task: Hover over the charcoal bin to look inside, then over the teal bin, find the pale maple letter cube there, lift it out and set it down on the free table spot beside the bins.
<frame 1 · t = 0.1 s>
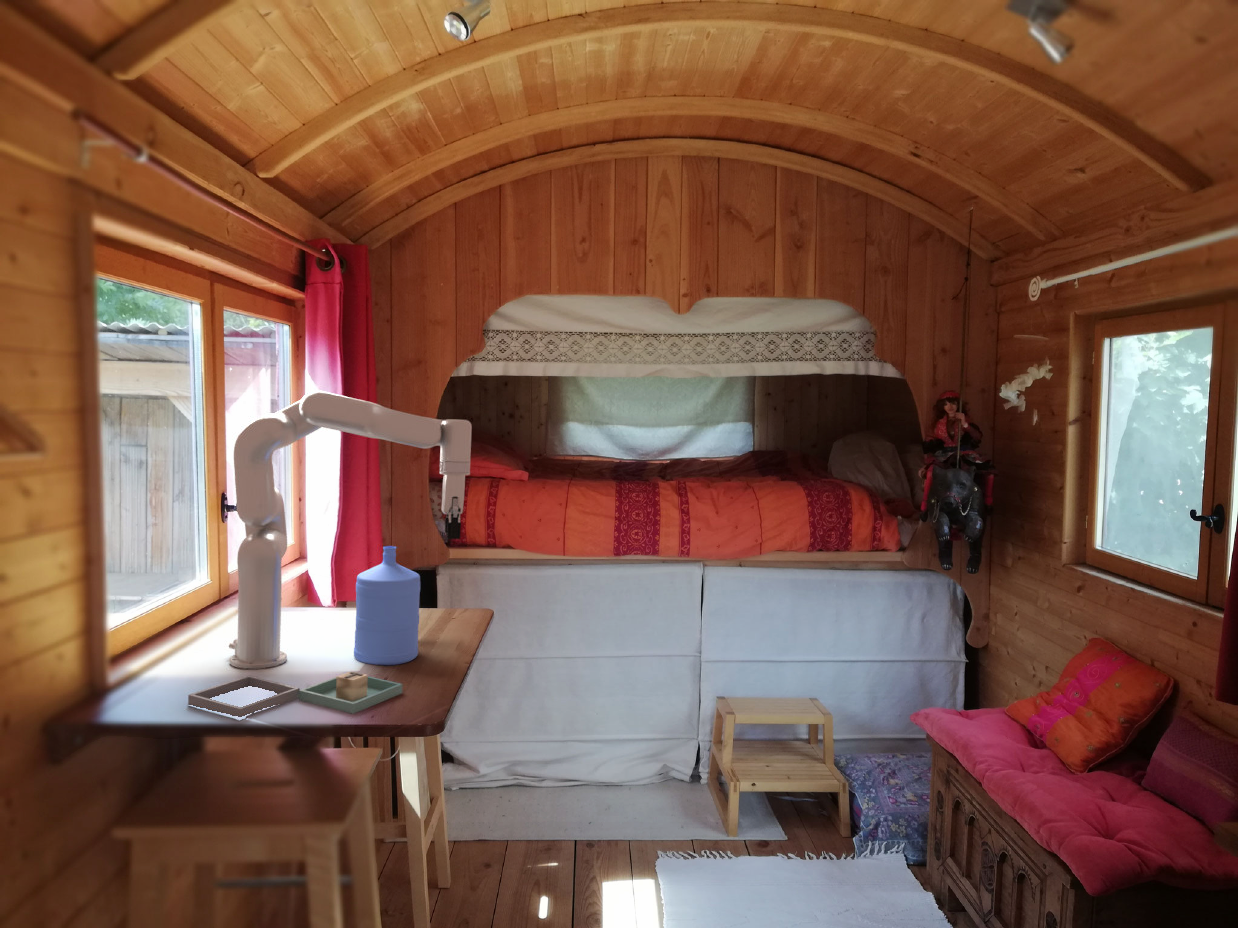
hand: (452, 535, 211), 31 cm above the table, tool pointing down, fingers open, 9 cm apart
teal bin: (351, 697, 180), on the table
water jug: (386, 657, 210), on the table
charcoal bin: (244, 702, 174), on the table
letter cube: (351, 696, 180), resting on teal bin
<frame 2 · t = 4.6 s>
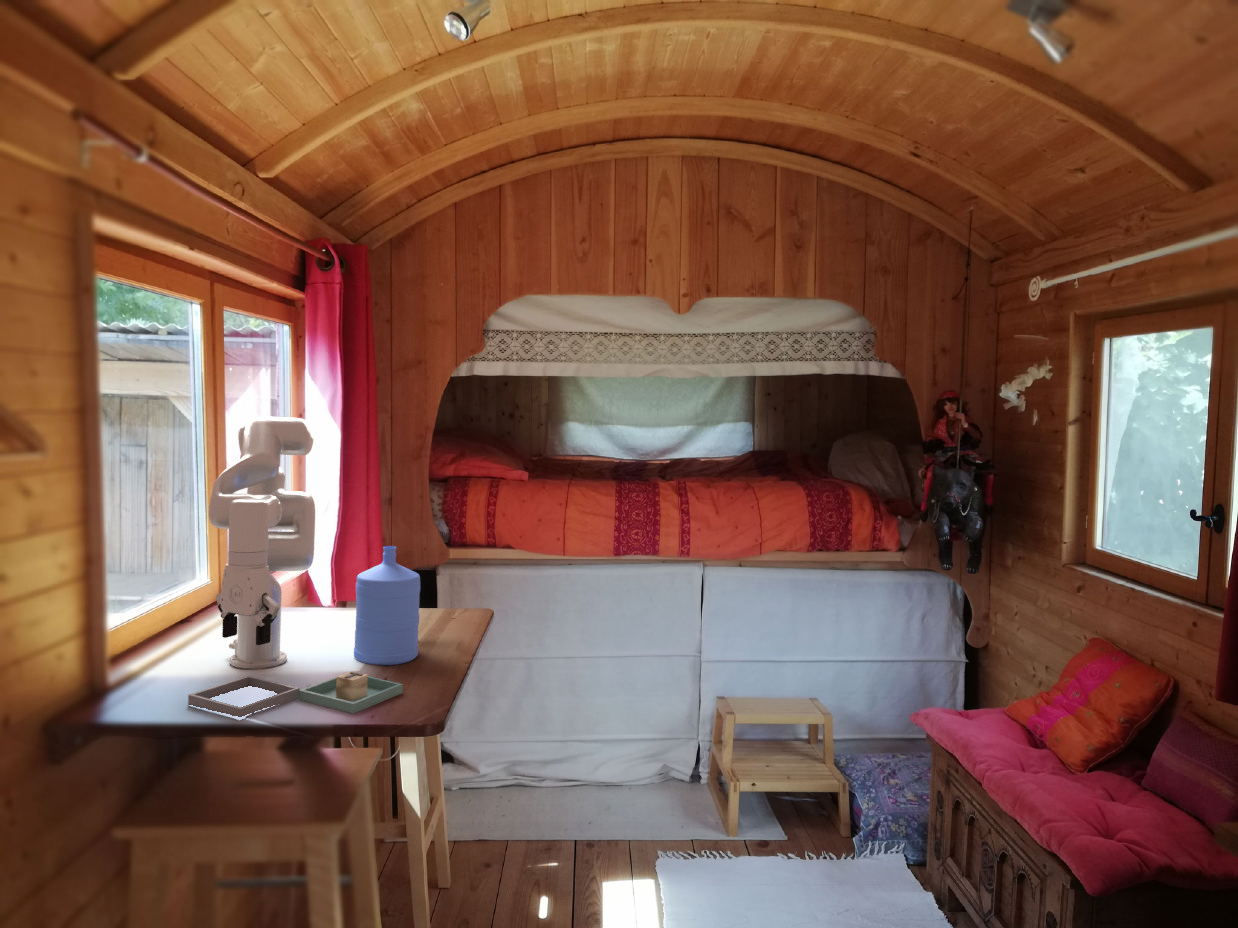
hand: (246, 639, 173), 13 cm above the table, tool pointing down, fingers open, 9 cm apart
nothing on the table moved.
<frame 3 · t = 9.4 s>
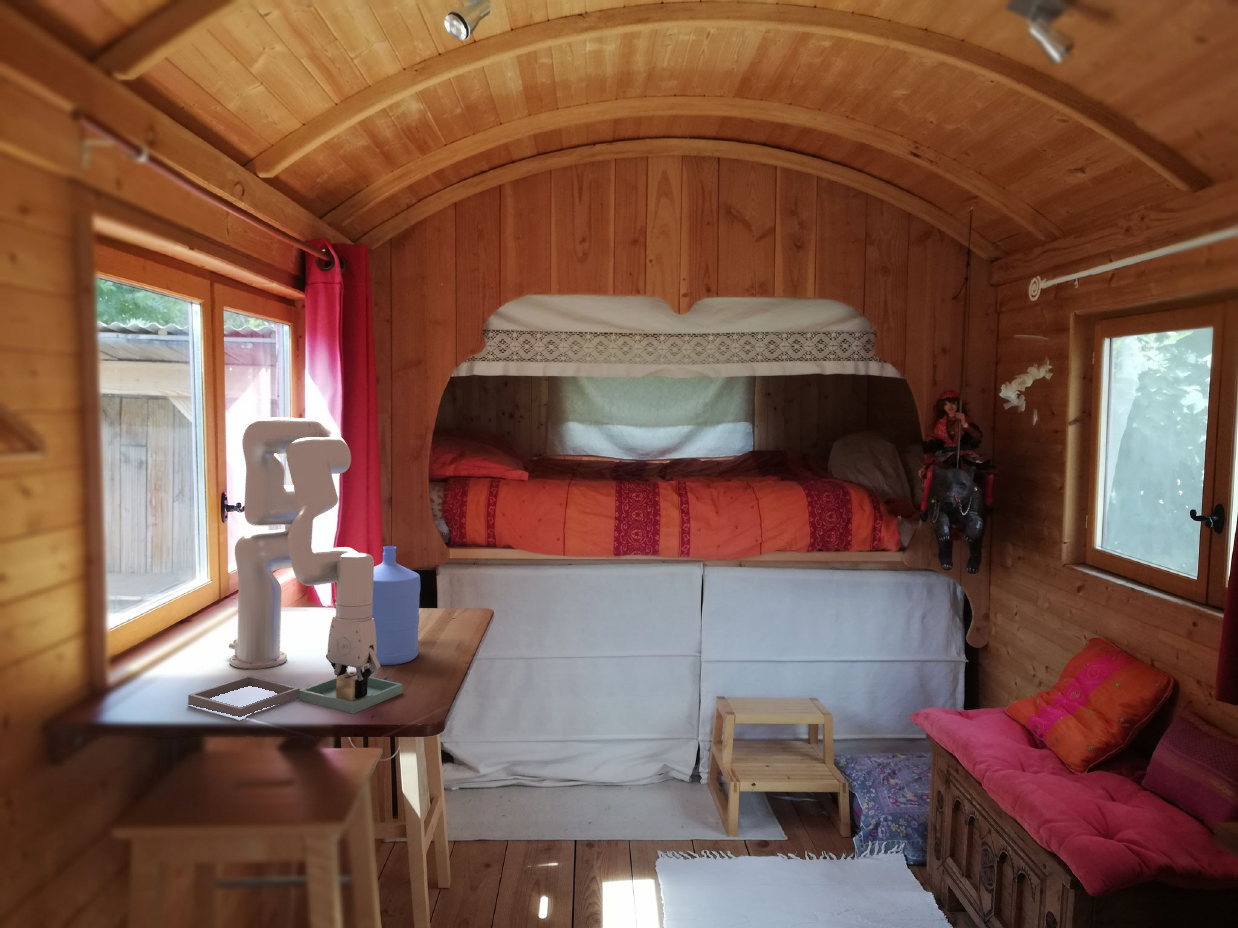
hand: (351, 693, 180), 1 cm above the table, tool pointing down, fingers closed on letter cube, 4 cm apart
letter cube: (351, 696, 180), resting on teal bin, touching gripper
everything else where it was.
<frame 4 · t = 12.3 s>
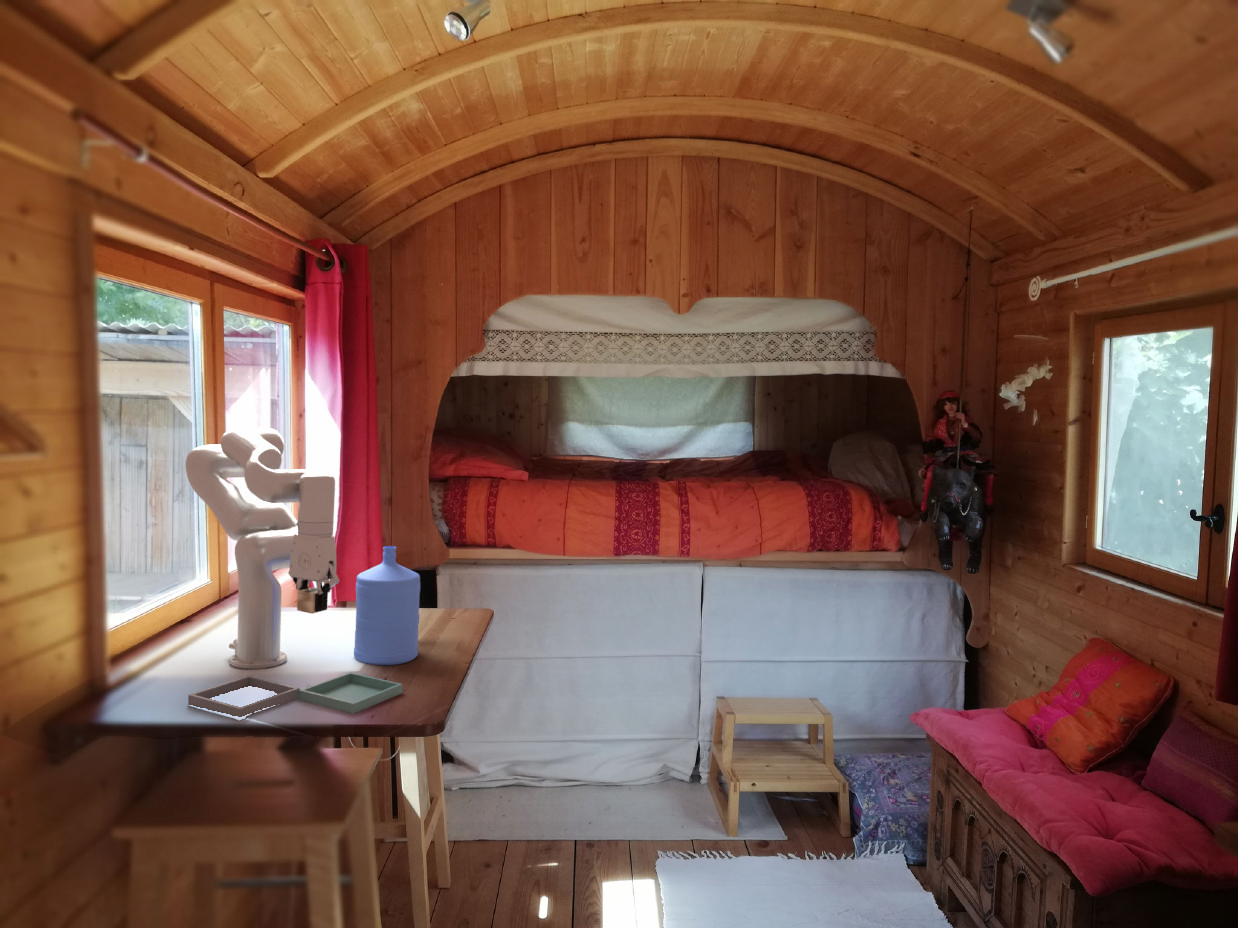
hand: (312, 607, 188), 17 cm above the table, tool pointing down, fingers closed on letter cube, 4 cm apart
letter cube: (312, 609, 188), point 16 cm above the table, touching gripper
everything else where it was.
when the fingers open (2 cm above the table, at t = 15.6 s): letter cube drops 2 cm, on the table.
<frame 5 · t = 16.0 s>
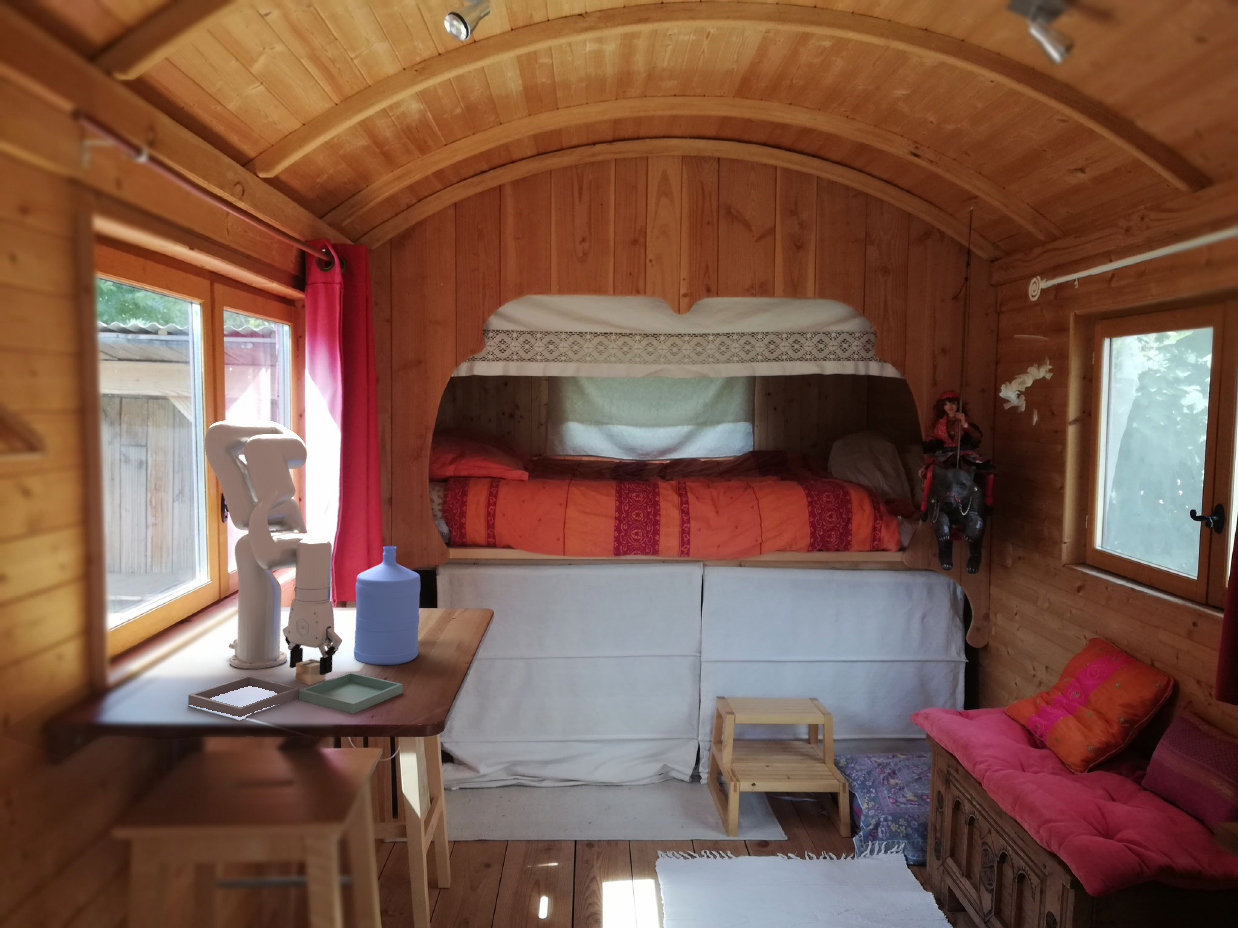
hand: (310, 669, 189), 3 cm above the table, tool pointing down, fingers open, 8 cm apart
letter cube: (310, 682, 189), on the table
everything else where it was.
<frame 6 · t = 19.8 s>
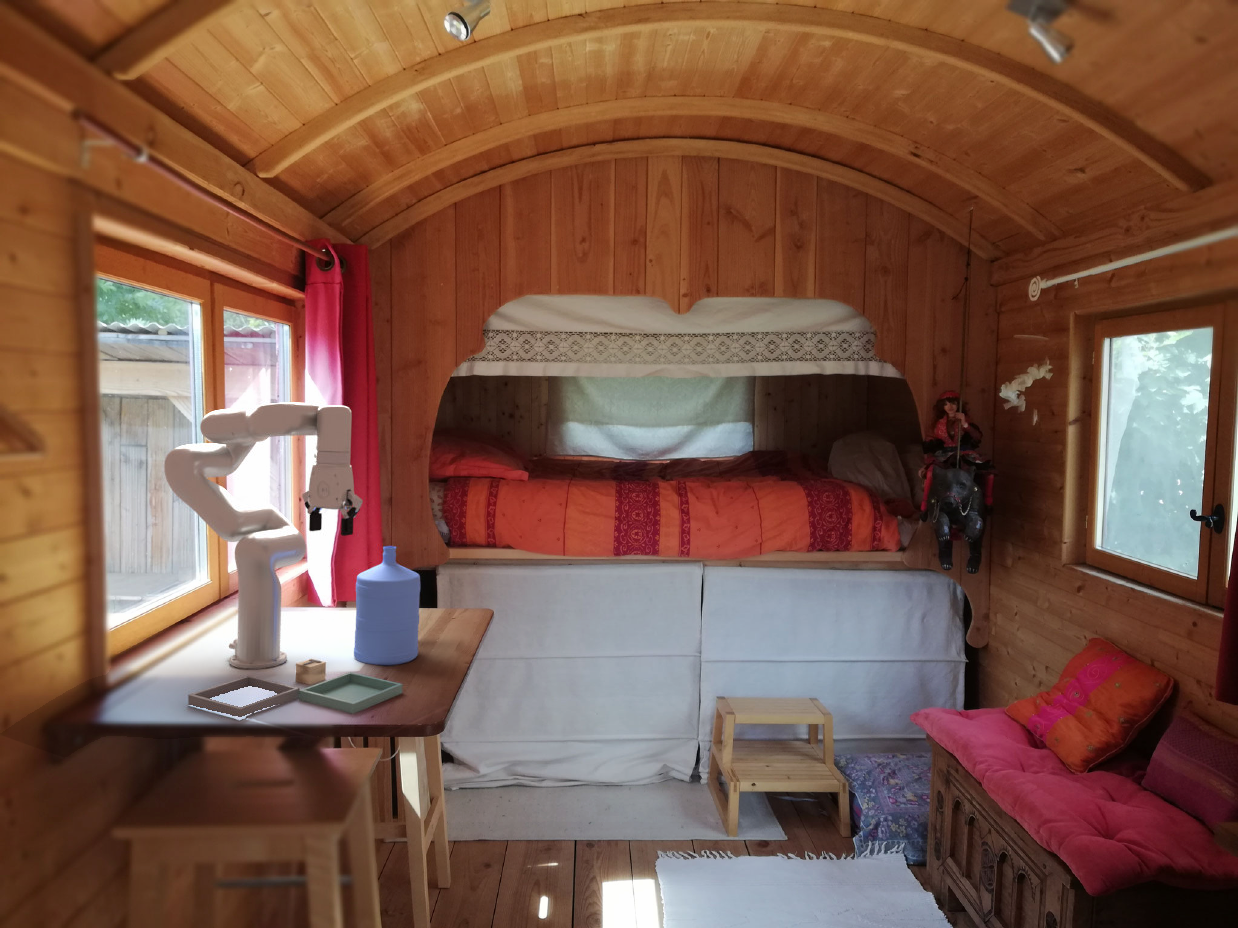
hand: (331, 532, 193), 33 cm above the table, tool pointing down, fingers open, 9 cm apart
nothing on the table moved.
at the end: letter cube inside the target area (0.0 cm from its centre), on the table; letter cube tilted 0°; the gripper is holding nothing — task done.
